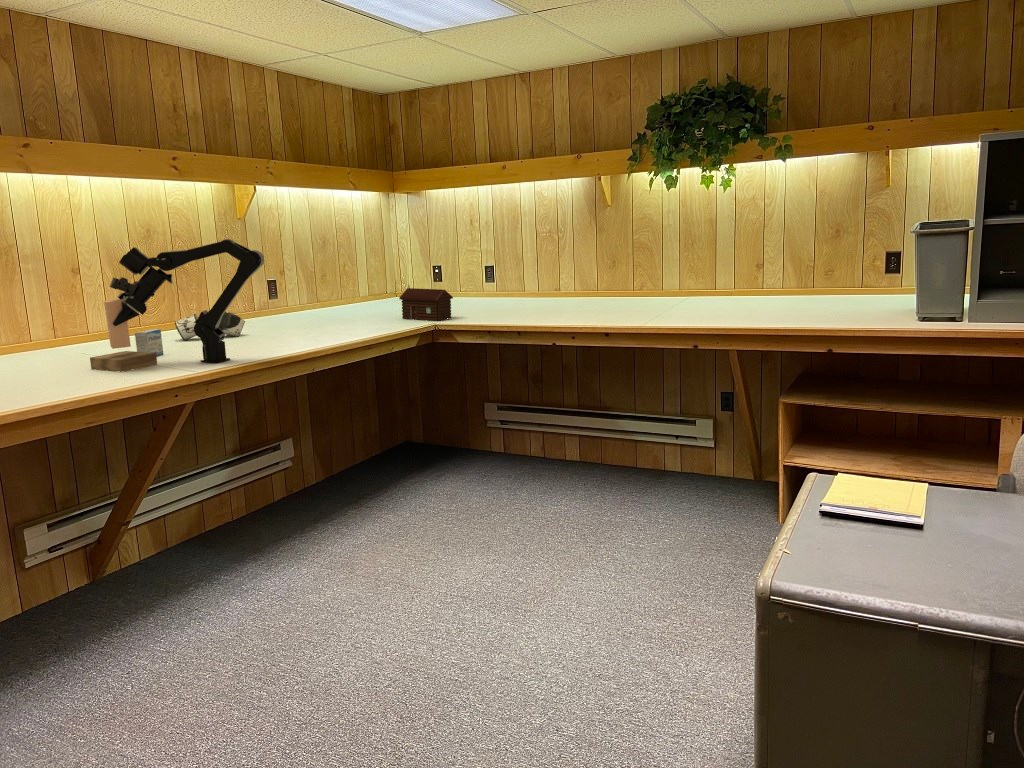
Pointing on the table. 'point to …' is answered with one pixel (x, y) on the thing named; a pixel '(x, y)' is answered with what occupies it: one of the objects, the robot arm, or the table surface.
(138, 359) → the walnut block
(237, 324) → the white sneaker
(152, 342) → the medicine box
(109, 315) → the terracotta block
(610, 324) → the table surface
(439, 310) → the model building
